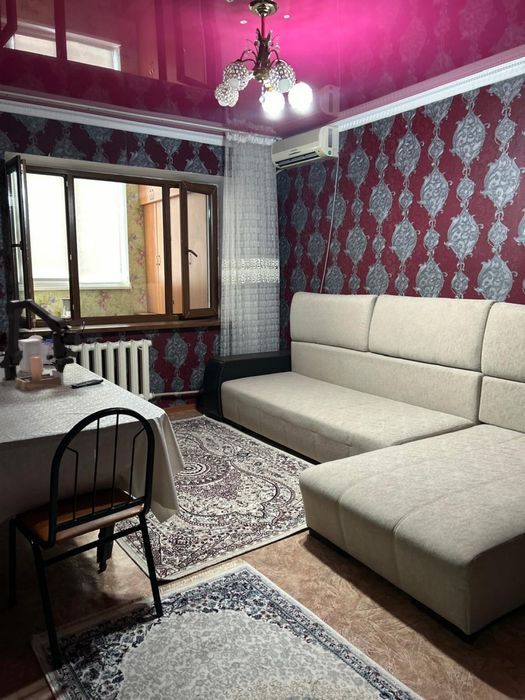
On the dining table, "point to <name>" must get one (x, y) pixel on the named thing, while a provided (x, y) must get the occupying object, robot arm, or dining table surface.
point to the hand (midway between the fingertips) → (60, 375)
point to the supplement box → (30, 352)
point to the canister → (36, 368)
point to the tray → (51, 376)
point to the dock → (36, 382)
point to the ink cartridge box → (47, 351)
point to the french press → (35, 335)
